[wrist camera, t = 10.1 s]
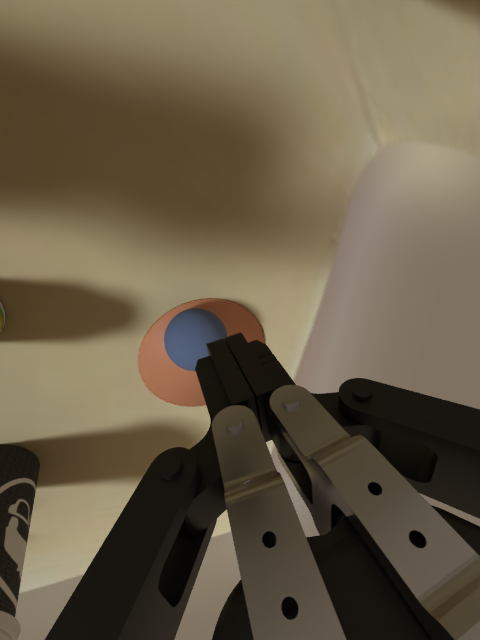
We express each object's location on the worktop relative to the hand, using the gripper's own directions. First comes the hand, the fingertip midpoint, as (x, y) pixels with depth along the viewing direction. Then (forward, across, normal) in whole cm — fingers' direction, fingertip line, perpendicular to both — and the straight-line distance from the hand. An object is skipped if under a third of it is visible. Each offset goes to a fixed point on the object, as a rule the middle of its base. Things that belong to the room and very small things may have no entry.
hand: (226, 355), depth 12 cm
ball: (+12, 0, +7) cm, 14 cm away
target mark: (+15, 0, +11) cm, 19 cm away
